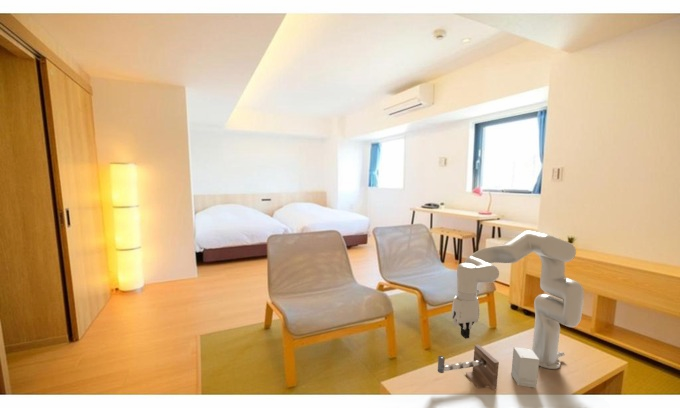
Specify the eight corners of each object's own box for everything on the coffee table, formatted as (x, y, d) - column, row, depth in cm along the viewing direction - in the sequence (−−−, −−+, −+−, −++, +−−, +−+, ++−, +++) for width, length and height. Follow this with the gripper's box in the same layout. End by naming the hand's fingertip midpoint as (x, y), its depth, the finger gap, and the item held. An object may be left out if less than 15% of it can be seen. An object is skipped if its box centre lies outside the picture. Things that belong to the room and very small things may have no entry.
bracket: (476, 369, 130) (478, 344, 129) (496, 389, 119) (498, 362, 117) (462, 371, 129) (464, 346, 127) (481, 392, 117) (483, 364, 116)
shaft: (479, 362, 124) (480, 349, 123) (483, 366, 122) (484, 353, 121) (436, 369, 120) (437, 356, 119) (439, 373, 117) (440, 359, 117)
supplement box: (537, 388, 120) (540, 359, 118) (517, 385, 121) (519, 357, 119) (529, 375, 127) (532, 348, 125) (510, 373, 128) (513, 346, 127)
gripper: (476, 288, 122) (475, 328, 125) (444, 292, 119) (443, 334, 121) (489, 296, 115) (487, 339, 117) (455, 300, 111) (454, 345, 114)
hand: (465, 336), depth 119 cm, fingers closed
